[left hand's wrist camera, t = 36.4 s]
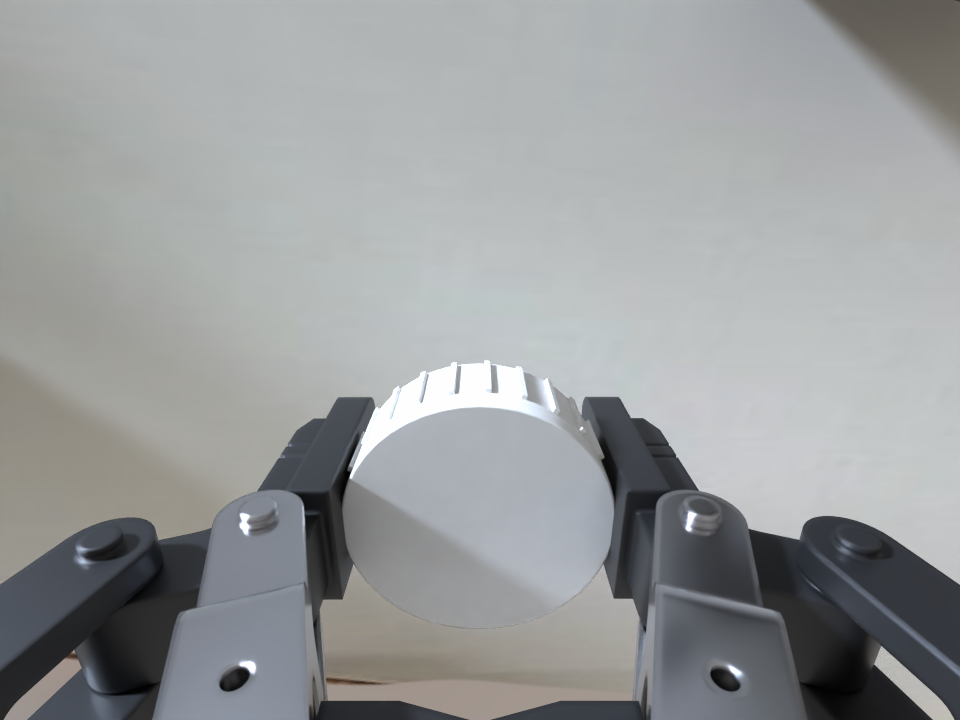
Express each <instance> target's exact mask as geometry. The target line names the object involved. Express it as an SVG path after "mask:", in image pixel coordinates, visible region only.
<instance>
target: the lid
mask: <svg viewBox="0 0 960 720" xmlns="http://www.w3.org/2000/svg"><path fill="white" fill-rule="evenodd" d="M603 458H604V455H603V452H602V450H601V447H600V445H599V443H598V440H597V438H596V435H595V433H594V430H593V428H592V425H591V423H590V421H589V420H587V421H584V419H583V417H582V416H581V414H580V413H579V411H578V408H577V406H576V403H575V400H574V399H573V398H572V397H570V398H569V399H568V398H567V397H565V396H564V395H563V394H562V393H561V392H560V391H558V390H557V389H556V388H555V387H553V385H552V382H551V381H550V380H549V379H546V380H545V381H544V380H542V379H540V378H538V377H536V376H534V375H531V374H529V373H527V372H524V371H523V368H522V367H519V366H517V368H516V369H515V368H511V367H506V366H500V365H493V364H490V361H484V364H463V365H458V364H457V362H455V363H452V364H451V367H446V368H443V369H440V370H437V371H433V372H430V373H428V374H427V372H426V371H424V372H422V373H421V374H420V377H419V378H417V379H415V380H414V381H412V382H411V383H409V384H407V385H406V386H404V387H403V388H401V389H400V388H399V387H397V388H395V389H394V392H393V395H392V397H391V398H390V399H389V400H388V401H387V402H386V403H385V404H384V405H383V406H382V408H381V409H379V408H378V407H377V408H376V409H375V410H374V413H373V415H372V418H371V420H370V423H369V425H368V428H367V430H366V432H363V433H362V435H361V438H360V440H359V443H358V445H357V447H356V450H355V452H354V455H353V457H352V459H351V462H350V464H349V467H348V470H347V471H349V472H351V474H350V477H349V479H348V482H347V485H346V489H345V492H344V495H343V501H342V513H343V522H344V530H345V539H346V546H347V550H348V553H349V555H350V557H351V559H352V561H353V563H354V565H355V567H356V568H357V570H358V571H359V572H360V574H361V575H362V577H363V578H364V579H365V581H366V582H367V583H368V584H369V585H370V586H371V587H372V588H373V589H374V590H375V591H376V592H377V593H378V594H380V595H381V596H382V597H383V598H385V599H386V600H387V601H389V602H390V603H392V604H393V605H395V606H396V607H398V608H399V609H401V610H403V611H405V612H407V613H409V614H411V615H413V616H416V617H418V618H421V619H424V620H426V621H429V622H433V623H437V624H441V625H445V626H451V627H457V628H468V629H490V628H500V627H507V626H512V625H516V624H520V623H525V622H528V621H531V620H533V619H536V618H539V617H542V616H544V615H546V614H548V613H550V612H552V611H554V610H556V609H558V608H559V607H561V606H562V605H564V604H566V603H567V602H569V601H570V600H571V599H573V598H574V597H575V596H576V595H578V594H579V593H580V592H581V591H582V590H583V589H584V588H585V587H586V586H587V585H588V584H589V583H590V582H591V581H592V579H593V578H594V577H595V575H596V574H597V573H598V571H599V570H600V568H601V567H602V565H603V563H604V561H605V559H606V558H607V555H608V553H609V550H610V544H611V536H612V527H613V518H614V508H615V499H614V495H613V492H612V488H611V485H610V481H609V479H608V476H607V474H606V471H605V469H604V466H603V463H602V461H601V459H603Z"/></svg>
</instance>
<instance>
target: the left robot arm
mask: <svg viewBox="0 0 960 720" xmlns="http://www.w3.org/2000/svg"><path fill="white" fill-rule="evenodd" d="M374 410H375V404H374V400H373V398H372V397H339V398H338V399H337V400H336V402H335V404H334V405H333V407H332V409H331V411H330V412H329V414H328V416H327V418H326V419H313V420H311V421H310V422H308V423H307V424H306V425H304V426H303V427H301V428H300V429H298V430H297V431H296V433H295V434H294V436H293V437H292V439H291V440H290V442H289V443H288V447H286V448H285V449H284V451H283V453H282V454H281V458H279V459H278V460H277V462H276V463H275V465H274V466H273V468H272V469H271V471H270V473H269V474H268V476H267V477H266V479H265V480H264V482H263V483H262V485H261V486H260V488H259V489H258V491H257V492H255V493H251V494H248V495H245V496H243V497H241V498H238V499H236V500H235V501H233V502H231V503H230V504H228V505H227V506H226V507H224V508H223V509H222V510H221V511H220V512H219V513H218V514H217V516H216V518H215V519H214V522H213V525H212V528H210V529H207V530H204V531H200V532H196V533H192V534H187V535H182V536H177V537H173V538H168V539H163V540H158V538H157V534H156V531H155V528H154V526H153V525H152V523H151V522H149V521H147V520H144V519H141V518H119V519H113V520H109V521H105V522H101V523H99V524H96V525H93V526H90V527H88V528H86V529H84V530H82V531H80V532H78V533H76V534H74V535H72V536H71V537H69V538H68V539H66V540H65V541H63V542H62V543H60V544H59V545H57V546H56V547H54V548H53V549H52V550H50V551H49V552H47V553H46V554H44V555H43V556H41V557H40V558H38V559H37V560H36V561H34V562H33V563H31V564H30V565H28V566H27V567H25V568H24V569H23V570H21V571H20V572H18V573H17V574H15V575H14V576H12V577H11V578H9V579H8V580H7V581H5V582H4V583H2V584H1V585H0V720H4V718H5V716H6V714H7V713H8V712H9V710H10V709H11V708H12V706H13V705H14V704H15V703H16V702H17V701H18V700H19V699H20V698H21V697H22V696H23V695H24V694H25V693H26V692H28V691H29V690H30V689H31V688H32V687H33V686H34V685H35V684H37V683H38V682H39V681H40V680H41V679H42V678H43V677H44V676H45V675H46V674H48V673H49V672H50V671H51V670H52V669H53V668H54V667H55V666H57V665H58V664H59V663H60V662H61V661H62V660H63V659H64V658H65V657H67V656H68V655H69V654H70V653H71V652H72V651H73V650H74V649H75V652H76V655H77V657H78V660H79V662H80V665H81V667H82V669H81V670H80V671H78V672H77V673H76V674H75V675H74V676H73V677H72V678H71V679H70V680H69V681H68V682H67V683H66V684H65V685H64V686H63V687H62V688H60V689H59V690H58V691H57V692H56V693H55V694H54V695H53V696H52V697H51V698H50V699H49V700H48V701H47V702H46V703H45V704H44V705H42V706H41V707H40V708H39V709H38V710H37V711H36V712H35V713H34V714H33V715H32V716H31V717H30V718H29V719H28V720H468V719H464V718H460V717H457V716H453V715H449V714H445V713H442V712H438V711H434V710H431V709H427V708H423V707H420V706H416V705H412V704H408V703H405V702H401V701H328V699H327V685H326V672H325V658H324V645H323V631H322V623H321V617H320V607H321V604H322V601H323V599H343V596H344V593H345V589H346V586H347V583H348V580H349V576H350V573H351V570H352V566H353V561H352V559H351V557H350V555H349V553H348V550H347V546H346V539H345V530H344V522H343V513H342V501H343V495H344V492H345V489H346V485H347V482H348V479H349V477H350V474H351V472H349V471H347V470H348V467H349V464H350V462H351V459H352V457H353V455H354V452H355V450H356V447H357V445H358V443H359V440H360V438H361V435H362V433H363V432H366V430H367V428H368V425H369V423H370V420H371V418H372V415H373V413H374ZM582 417H583V419H584V421H587V420H589V421H590V423H591V425H592V428H593V430H594V433H595V435H596V438H597V440H598V443H599V445H600V447H601V450H602V452H603V455H604V458H603V459H601V461H602V463H603V466H604V469H605V471H606V474H607V476H608V479H609V481H610V485H611V488H612V492H613V495H614V499H615V508H614V518H613V527H612V536H611V544H610V550H609V553H608V555H607V558H606V559H605V561H604V567H605V570H606V574H607V577H608V580H609V584H610V587H611V590H612V594H613V597H614V598H621V599H633V600H634V603H635V606H636V608H637V611H638V614H639V623H638V631H637V645H636V658H635V672H634V685H633V699H632V701H559V702H555V703H551V704H548V705H544V706H540V707H537V708H533V709H529V710H526V711H522V712H518V713H515V714H511V715H507V716H504V717H500V718H496V719H492V720H932V719H931V718H930V717H929V716H928V715H927V714H926V713H925V712H924V711H923V710H922V709H921V708H920V707H919V706H918V705H916V704H915V703H914V702H913V701H912V700H911V699H910V698H909V697H908V696H907V695H906V694H905V693H904V692H903V691H902V690H901V689H900V688H898V687H897V686H896V685H895V684H894V683H893V682H892V681H891V680H890V679H889V678H888V677H887V676H886V675H885V674H884V673H883V672H882V671H880V670H879V669H878V668H877V667H876V666H875V665H874V663H875V660H876V657H877V655H878V652H879V650H880V647H881V646H882V647H883V648H884V649H886V650H887V651H888V652H889V653H890V654H891V655H892V656H893V657H894V658H896V659H897V660H898V661H899V662H900V663H901V664H902V665H903V666H905V667H906V668H907V669H908V670H909V671H910V672H911V673H912V674H913V675H915V676H916V677H917V678H918V679H919V680H920V681H921V682H922V683H923V684H925V685H926V686H927V687H928V688H929V689H930V690H931V691H932V692H933V693H935V694H936V695H937V696H938V697H939V698H940V699H941V700H942V702H943V703H944V704H945V705H946V706H947V708H948V709H949V711H950V712H951V714H952V716H953V717H954V719H955V720H960V585H959V584H958V583H956V582H955V581H953V580H952V579H951V578H949V577H948V576H946V575H945V574H943V573H942V572H940V571H939V570H937V569H936V568H935V567H933V566H932V565H930V564H929V563H927V562H926V561H924V560H923V559H922V558H920V557H919V556H917V555H916V554H914V553H913V552H911V551H910V550H908V549H907V548H906V547H904V546H903V545H901V544H900V543H898V542H897V541H895V540H894V539H893V538H891V537H889V536H888V535H886V534H885V533H883V532H881V531H879V530H877V529H875V528H873V527H871V526H869V525H866V524H864V523H861V522H858V521H855V520H851V519H847V518H842V517H834V516H821V517H815V518H812V519H810V520H808V521H807V522H806V523H805V524H804V526H803V529H802V533H801V536H800V540H797V539H792V538H787V537H782V536H777V535H773V534H768V533H763V532H759V531H755V530H751V529H748V525H747V522H746V519H745V518H744V516H743V514H742V513H741V512H740V511H739V510H738V509H737V508H736V507H734V506H733V505H732V504H730V503H729V502H727V501H725V500H724V499H722V498H719V497H717V496H715V495H712V494H709V493H705V492H701V491H699V490H698V488H697V487H696V485H695V484H694V482H693V481H692V479H691V478H690V476H689V474H688V473H687V471H686V470H685V468H684V467H683V465H682V464H681V462H680V460H679V459H678V458H676V454H675V453H674V451H673V449H672V448H671V446H669V443H668V442H667V440H666V439H665V437H664V435H663V434H662V432H661V431H660V430H659V429H658V428H656V427H655V426H654V425H652V424H651V423H649V422H648V421H646V420H645V419H643V418H630V416H629V414H628V412H627V410H626V409H625V407H624V405H623V403H622V401H621V400H620V398H619V397H585V398H584V401H583V406H582Z"/></svg>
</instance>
